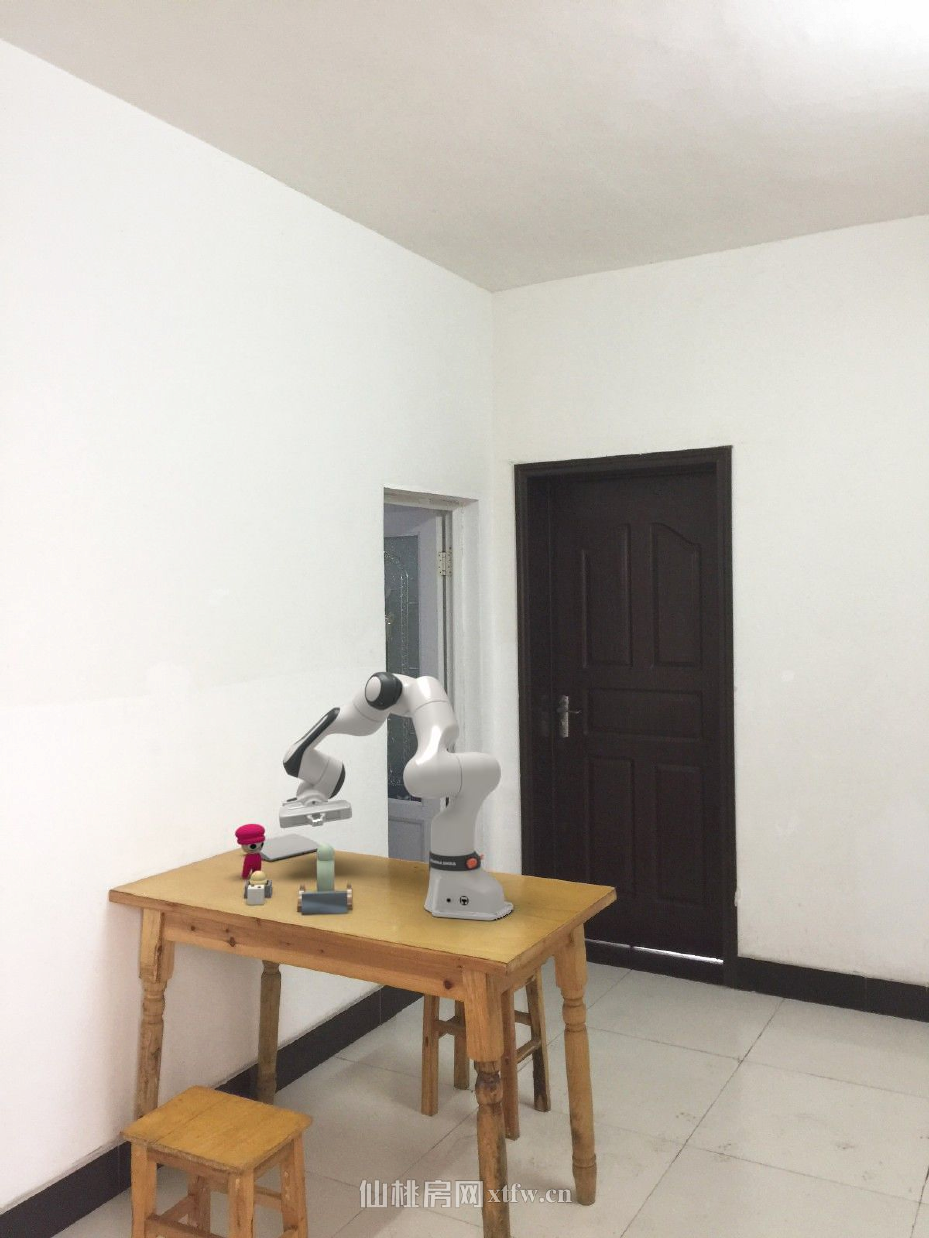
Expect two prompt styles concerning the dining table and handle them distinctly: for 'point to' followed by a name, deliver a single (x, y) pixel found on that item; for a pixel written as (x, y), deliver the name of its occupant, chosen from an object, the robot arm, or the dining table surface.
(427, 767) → the robot arm
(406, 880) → the dining table surface
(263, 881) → the dome
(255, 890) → the die
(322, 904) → the track
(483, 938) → the dining table surface
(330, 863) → the pawn
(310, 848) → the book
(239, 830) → the toy
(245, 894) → the base
